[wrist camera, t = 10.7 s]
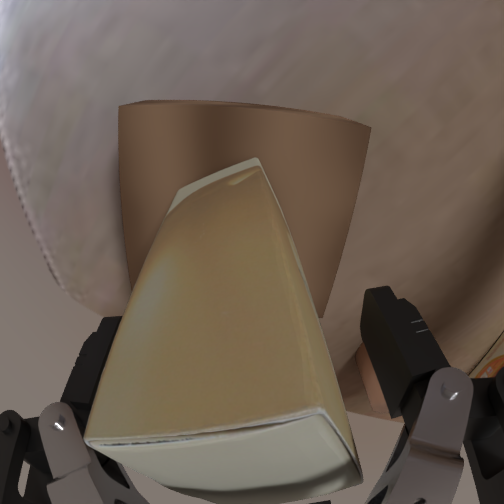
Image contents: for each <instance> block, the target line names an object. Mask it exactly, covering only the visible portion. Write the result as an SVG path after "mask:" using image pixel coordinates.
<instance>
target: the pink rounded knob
mask: <svg viewBox="0 0 504 504" xmlns="http://www.w3.org/2000/svg"><path fill="white" fill-rule="evenodd" d="M355 360H356V363H357V366H358V369H359V372H360V374H361V377H362V380H363V383H364V386H365V389H366V392H367V395H368V398H369V401H370V404H371V407H372V409H373V410H374V411H375V412H378V413H389V410H388V407H387V404H386V401H385V399H384V396H383V393H382V390H381V387H380V385H379V382H378V379H377V376H376V374H375V371H374V368H373V366H372V363H371V361H370V358H369V355H368V353H367V350H366V348H365V345H364V343H362V344H361V346H360V347H359V348H358V350H357V352H356V356H355Z"/></svg>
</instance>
